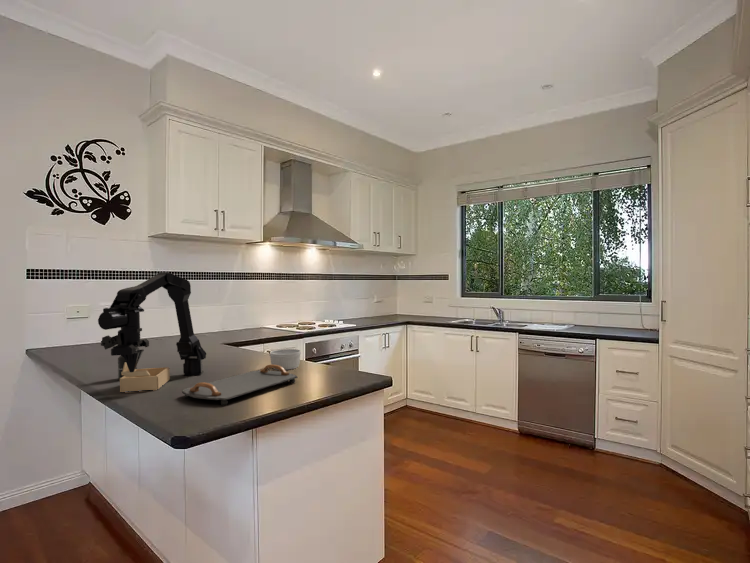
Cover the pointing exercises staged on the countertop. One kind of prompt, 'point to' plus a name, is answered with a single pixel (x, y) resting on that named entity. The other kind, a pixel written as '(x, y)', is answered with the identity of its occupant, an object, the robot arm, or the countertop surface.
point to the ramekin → (285, 358)
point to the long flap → (125, 368)
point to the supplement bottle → (121, 366)
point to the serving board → (239, 384)
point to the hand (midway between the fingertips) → (131, 372)
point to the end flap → (136, 373)
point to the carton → (146, 380)
